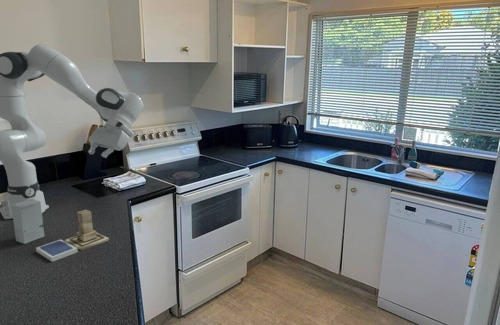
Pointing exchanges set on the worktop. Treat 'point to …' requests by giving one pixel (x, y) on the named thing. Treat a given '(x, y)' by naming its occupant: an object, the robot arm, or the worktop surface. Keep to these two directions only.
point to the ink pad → (56, 250)
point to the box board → (83, 246)
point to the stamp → (85, 227)
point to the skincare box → (27, 221)
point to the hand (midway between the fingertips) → (96, 155)
